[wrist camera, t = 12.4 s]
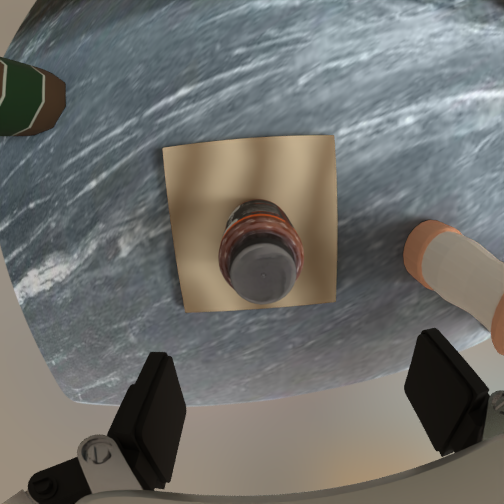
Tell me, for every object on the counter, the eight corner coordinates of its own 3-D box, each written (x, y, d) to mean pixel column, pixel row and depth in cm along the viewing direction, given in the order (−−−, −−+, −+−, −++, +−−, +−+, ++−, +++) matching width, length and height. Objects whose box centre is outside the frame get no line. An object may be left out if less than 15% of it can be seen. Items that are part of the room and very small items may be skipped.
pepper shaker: (410, 289, 32) (508, 390, 14) (395, 235, 30) (519, 321, 12) (455, 263, 31) (561, 339, 13) (444, 209, 29) (573, 266, 11)
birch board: (330, 136, 27) (334, 135, 26) (332, 297, 32) (335, 301, 31) (165, 148, 27) (162, 147, 26) (187, 307, 32) (185, 312, 31)
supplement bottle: (215, 213, 28) (194, 249, 17) (274, 187, 27) (291, 207, 16) (242, 268, 30) (238, 331, 19) (298, 244, 29) (326, 296, 18)
